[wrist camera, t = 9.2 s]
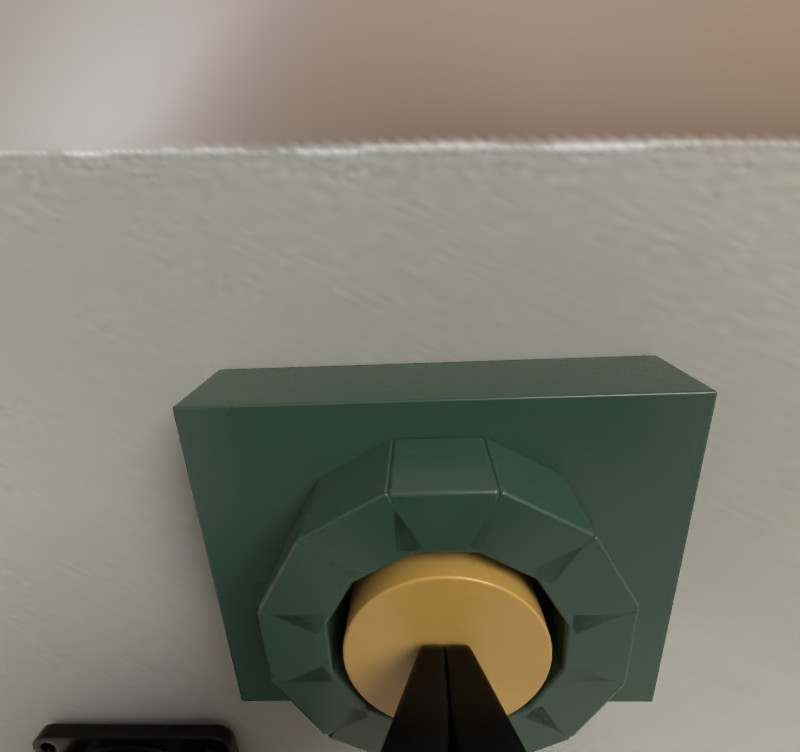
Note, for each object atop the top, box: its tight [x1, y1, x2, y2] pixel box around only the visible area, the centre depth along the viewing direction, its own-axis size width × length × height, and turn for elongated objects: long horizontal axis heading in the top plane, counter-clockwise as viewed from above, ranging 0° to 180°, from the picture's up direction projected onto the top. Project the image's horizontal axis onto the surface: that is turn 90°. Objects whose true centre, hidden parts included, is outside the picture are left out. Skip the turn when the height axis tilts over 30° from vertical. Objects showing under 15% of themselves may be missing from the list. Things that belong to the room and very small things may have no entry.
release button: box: [343, 552, 552, 717], centre depth 9 cm, size 4×4×2 cm
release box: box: [173, 356, 717, 752], centre depth 10 cm, size 10×8×4 cm
